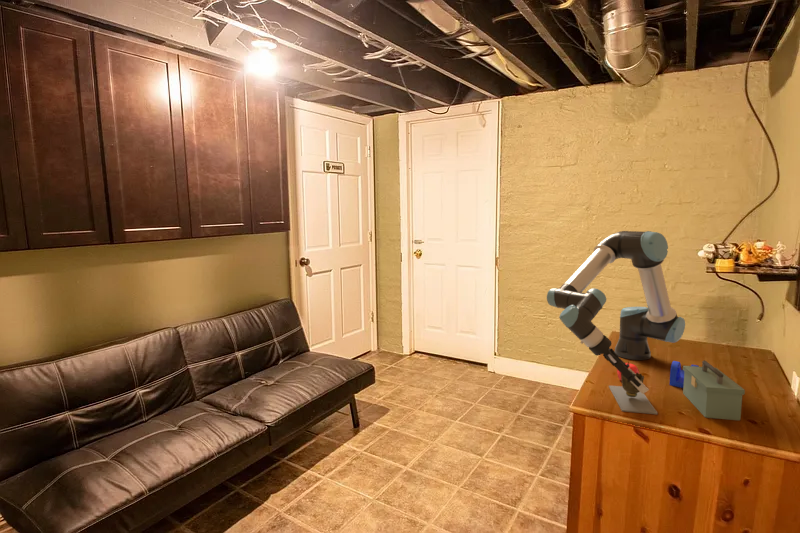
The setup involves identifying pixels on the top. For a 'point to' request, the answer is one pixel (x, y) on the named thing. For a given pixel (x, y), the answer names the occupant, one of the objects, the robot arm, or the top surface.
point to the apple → (632, 367)
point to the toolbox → (712, 392)
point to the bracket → (677, 374)
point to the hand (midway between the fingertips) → (642, 387)
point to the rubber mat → (632, 401)
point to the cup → (631, 385)
